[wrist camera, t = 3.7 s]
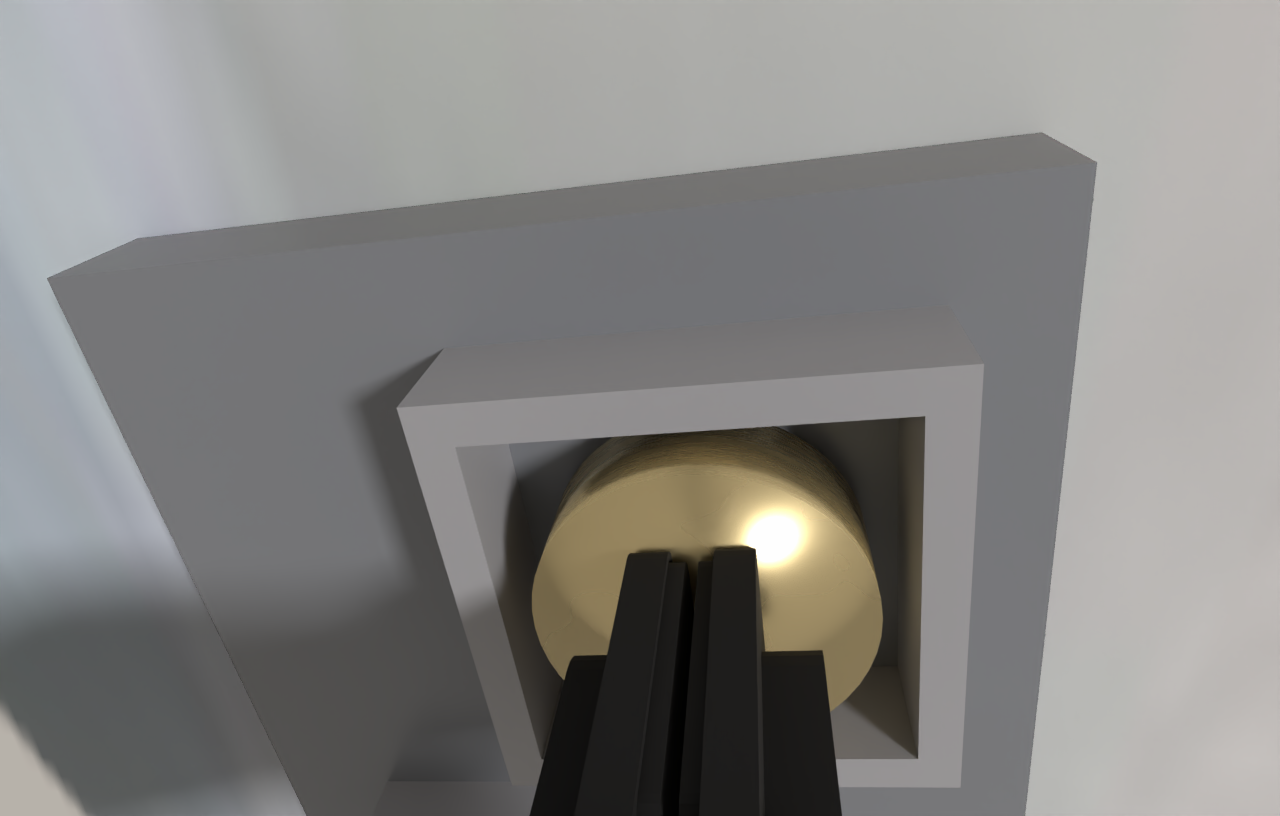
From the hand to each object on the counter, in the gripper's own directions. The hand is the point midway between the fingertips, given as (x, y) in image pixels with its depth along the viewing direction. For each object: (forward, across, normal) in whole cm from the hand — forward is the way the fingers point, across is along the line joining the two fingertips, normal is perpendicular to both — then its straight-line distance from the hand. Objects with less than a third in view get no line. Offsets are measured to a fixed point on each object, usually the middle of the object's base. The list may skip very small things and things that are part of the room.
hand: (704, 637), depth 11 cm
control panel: (+4, +2, +9) cm, 10 cm away
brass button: (+2, 0, 0) cm, 2 cm away
